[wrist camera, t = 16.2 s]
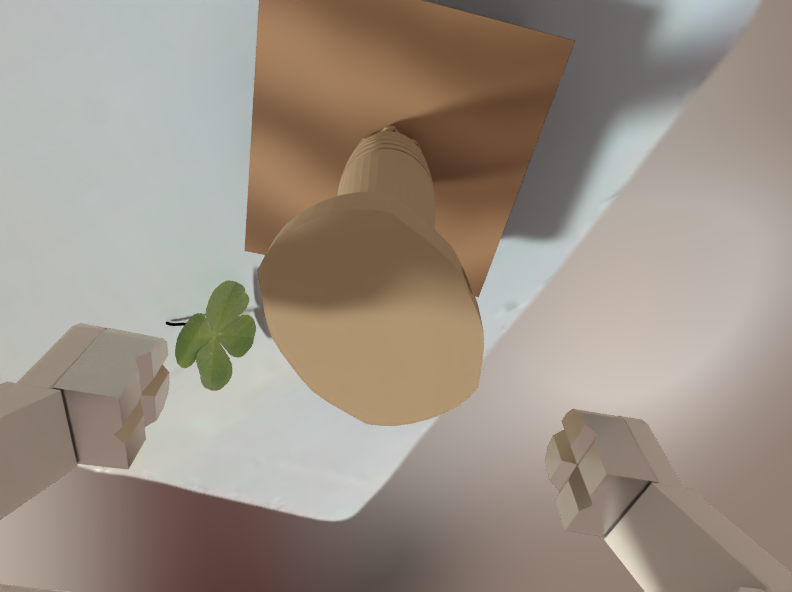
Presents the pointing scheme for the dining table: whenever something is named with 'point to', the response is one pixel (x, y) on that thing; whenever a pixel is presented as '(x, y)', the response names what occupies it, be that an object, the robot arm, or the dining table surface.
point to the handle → (375, 293)
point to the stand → (398, 109)
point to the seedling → (216, 335)
